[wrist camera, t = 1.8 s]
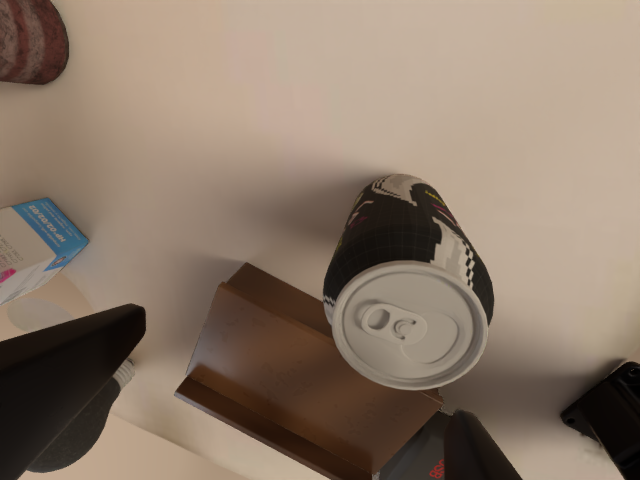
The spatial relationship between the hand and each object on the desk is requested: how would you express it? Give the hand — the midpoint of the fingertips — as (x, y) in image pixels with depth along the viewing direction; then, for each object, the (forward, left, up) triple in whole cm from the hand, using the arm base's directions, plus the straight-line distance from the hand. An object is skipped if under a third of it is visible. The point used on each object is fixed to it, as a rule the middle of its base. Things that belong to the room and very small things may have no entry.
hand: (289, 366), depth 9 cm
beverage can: (-3, -2, -14) cm, 14 cm away
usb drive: (-16, +17, -14) cm, 27 cm away
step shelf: (-3, +11, -14) cm, 18 cm away
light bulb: (+12, +24, -14) cm, 30 cm away
